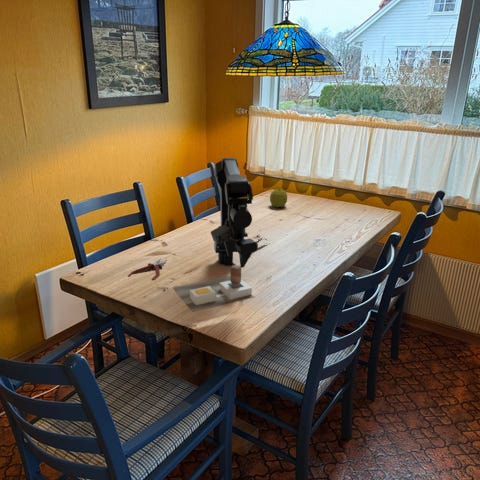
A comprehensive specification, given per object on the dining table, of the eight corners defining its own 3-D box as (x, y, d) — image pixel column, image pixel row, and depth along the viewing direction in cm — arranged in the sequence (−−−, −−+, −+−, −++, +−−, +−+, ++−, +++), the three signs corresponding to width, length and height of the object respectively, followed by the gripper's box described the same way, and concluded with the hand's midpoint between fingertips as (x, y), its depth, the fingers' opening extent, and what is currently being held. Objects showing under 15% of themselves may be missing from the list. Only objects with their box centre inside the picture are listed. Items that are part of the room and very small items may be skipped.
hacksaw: (249, 256, 183) (249, 252, 182) (229, 250, 188) (229, 247, 188) (278, 239, 201) (278, 236, 201) (259, 234, 207) (259, 231, 206)
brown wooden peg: (228, 290, 150) (228, 266, 147) (237, 288, 152) (238, 264, 148) (233, 295, 147) (233, 270, 144) (242, 292, 149) (243, 268, 145)
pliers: (177, 263, 174) (177, 257, 173) (154, 286, 156) (154, 279, 155) (150, 260, 177) (150, 254, 176) (125, 282, 159) (125, 275, 158)
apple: (278, 203, 255) (279, 185, 251) (290, 207, 248) (291, 188, 244) (265, 206, 249) (266, 187, 245) (277, 210, 242) (278, 191, 238)
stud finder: (189, 298, 144) (189, 289, 143) (209, 294, 147) (209, 285, 146) (195, 305, 140) (195, 296, 139) (215, 300, 143) (215, 291, 142)
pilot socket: (219, 289, 151) (219, 282, 150) (240, 284, 154) (240, 278, 153) (230, 299, 144) (230, 292, 143) (251, 294, 148) (251, 287, 147)
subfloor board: (172, 291, 152) (172, 287, 151) (230, 279, 161) (230, 275, 161) (192, 316, 137) (192, 311, 136) (254, 301, 147) (254, 297, 146)
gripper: (202, 212, 146) (202, 255, 152) (227, 230, 130) (226, 278, 136) (232, 208, 151) (231, 250, 156) (259, 225, 135) (257, 271, 141)
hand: (235, 261), depth 147 cm, fingers open, 9 cm apart
